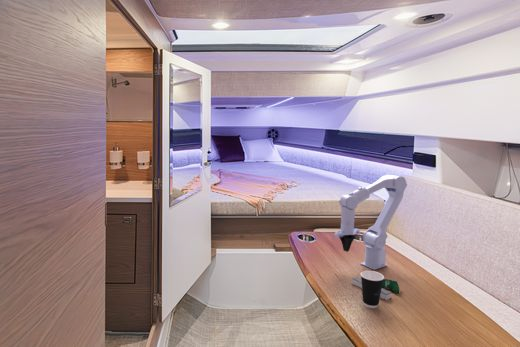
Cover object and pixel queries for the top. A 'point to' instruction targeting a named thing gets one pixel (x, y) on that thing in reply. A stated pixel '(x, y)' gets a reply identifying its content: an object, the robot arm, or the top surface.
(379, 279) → the dixie cup
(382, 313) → the top surface
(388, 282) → the gaming controller
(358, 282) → the bar
